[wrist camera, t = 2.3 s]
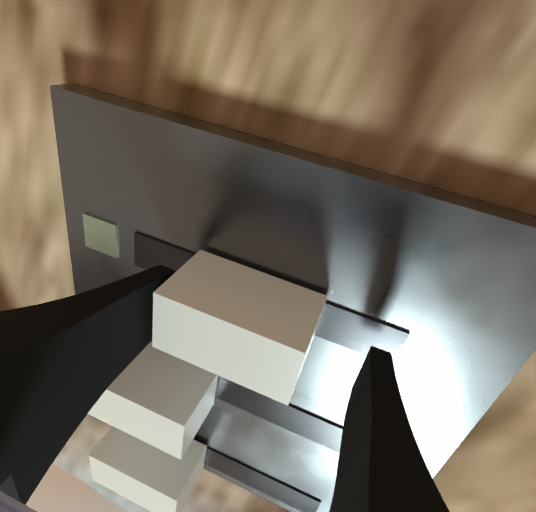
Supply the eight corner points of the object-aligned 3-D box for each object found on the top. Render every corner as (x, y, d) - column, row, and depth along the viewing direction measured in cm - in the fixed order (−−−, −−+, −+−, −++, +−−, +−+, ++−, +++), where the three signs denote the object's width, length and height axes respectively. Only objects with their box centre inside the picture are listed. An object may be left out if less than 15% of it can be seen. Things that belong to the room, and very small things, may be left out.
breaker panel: (599, 234, 11) (615, 252, 10) (375, 532, 21) (373, 554, 20) (71, 83, 14) (47, 86, 13) (101, 399, 24) (88, 413, 23)
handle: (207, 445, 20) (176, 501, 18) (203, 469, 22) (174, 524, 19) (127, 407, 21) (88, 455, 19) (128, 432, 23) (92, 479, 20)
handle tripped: (327, 295, 13) (305, 353, 11) (311, 344, 14) (287, 405, 12) (200, 249, 14) (153, 292, 12) (195, 298, 15) (152, 346, 13)
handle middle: (218, 371, 17) (184, 426, 15) (213, 404, 18) (180, 459, 16) (125, 330, 18) (77, 375, 16) (126, 364, 19) (82, 411, 17)
